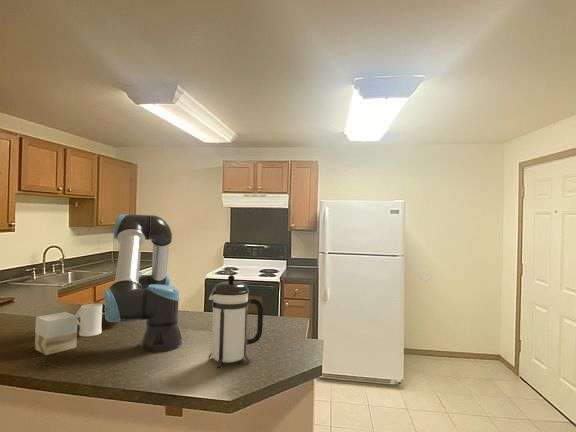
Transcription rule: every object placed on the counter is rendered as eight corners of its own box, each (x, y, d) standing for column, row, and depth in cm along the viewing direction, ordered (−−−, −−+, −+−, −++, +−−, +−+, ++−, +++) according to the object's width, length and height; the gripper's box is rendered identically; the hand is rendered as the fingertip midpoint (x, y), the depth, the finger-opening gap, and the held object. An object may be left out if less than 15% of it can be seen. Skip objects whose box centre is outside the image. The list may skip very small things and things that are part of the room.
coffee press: (240, 373, 107) (242, 279, 109) (197, 365, 113) (201, 275, 114) (262, 355, 124) (264, 273, 125) (224, 349, 129) (227, 270, 131)
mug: (67, 334, 142) (69, 306, 143) (84, 329, 150) (86, 302, 151) (90, 337, 139) (91, 308, 139) (106, 331, 147) (107, 304, 148)
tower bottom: (76, 347, 127) (77, 331, 127) (45, 355, 119) (46, 338, 119) (64, 342, 133) (65, 327, 133) (34, 349, 124) (35, 333, 125)
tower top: (76, 331, 127) (77, 315, 128) (46, 338, 119) (47, 321, 119) (64, 327, 133) (65, 311, 133) (35, 333, 125) (36, 316, 125)
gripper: (144, 314, 167) (118, 325, 146) (97, 311, 170) (65, 322, 149) (144, 298, 168) (118, 308, 146) (98, 296, 170) (66, 305, 149)
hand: (91, 315), depth 148 cm, fingers open, 13 cm apart
